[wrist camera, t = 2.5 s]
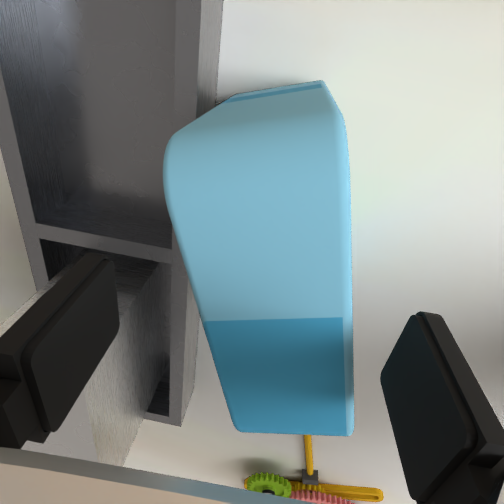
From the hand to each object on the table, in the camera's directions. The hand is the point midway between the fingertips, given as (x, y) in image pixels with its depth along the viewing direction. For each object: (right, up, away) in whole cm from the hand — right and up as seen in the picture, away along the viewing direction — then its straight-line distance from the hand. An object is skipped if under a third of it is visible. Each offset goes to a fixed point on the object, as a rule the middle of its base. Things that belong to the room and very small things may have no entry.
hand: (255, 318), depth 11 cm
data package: (+2, +6, +10) cm, 12 cm away
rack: (-8, +5, +12) cm, 15 cm away
